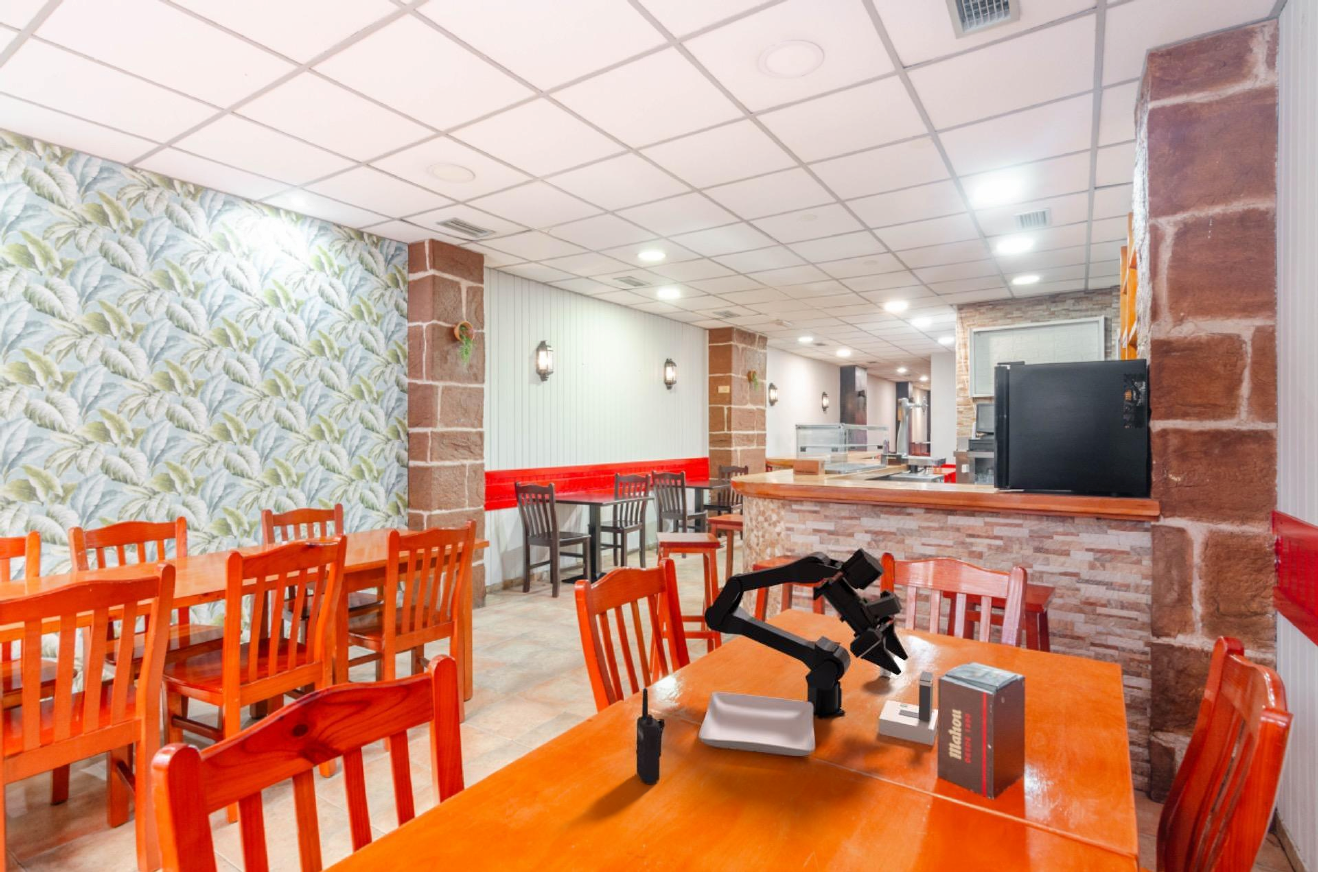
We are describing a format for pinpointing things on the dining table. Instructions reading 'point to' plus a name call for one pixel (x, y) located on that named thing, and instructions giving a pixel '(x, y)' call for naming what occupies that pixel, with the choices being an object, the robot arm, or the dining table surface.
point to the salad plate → (759, 724)
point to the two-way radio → (648, 744)
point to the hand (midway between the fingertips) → (903, 666)
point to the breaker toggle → (925, 695)
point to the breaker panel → (907, 723)
